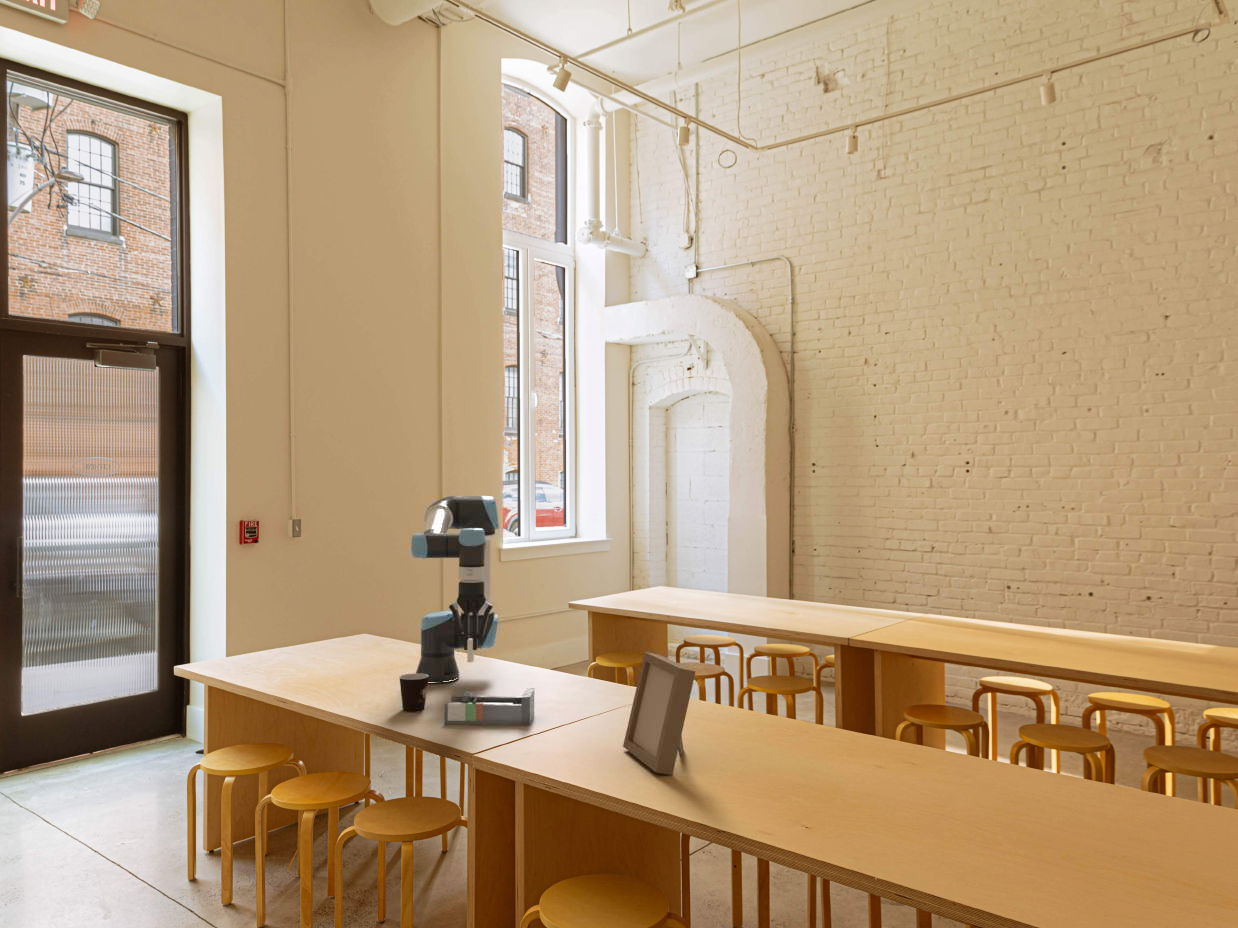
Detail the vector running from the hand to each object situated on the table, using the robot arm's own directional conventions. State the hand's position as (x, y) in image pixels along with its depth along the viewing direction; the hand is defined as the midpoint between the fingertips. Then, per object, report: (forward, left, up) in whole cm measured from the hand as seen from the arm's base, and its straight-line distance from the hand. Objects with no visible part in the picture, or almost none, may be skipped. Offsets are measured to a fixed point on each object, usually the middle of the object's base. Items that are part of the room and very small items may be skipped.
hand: (470, 661), depth 253 cm
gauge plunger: (+4, +6, -15) cm, 16 cm away
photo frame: (+37, +56, -17) cm, 69 cm away
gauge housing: (+2, +6, -17) cm, 18 cm away
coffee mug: (-10, -18, -17) cm, 26 cm away
